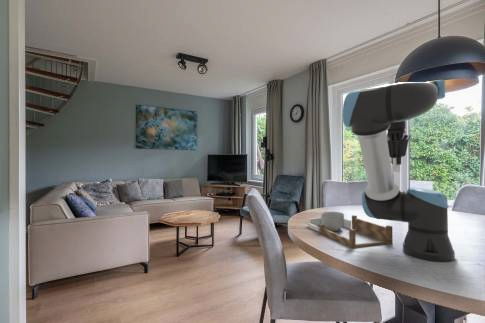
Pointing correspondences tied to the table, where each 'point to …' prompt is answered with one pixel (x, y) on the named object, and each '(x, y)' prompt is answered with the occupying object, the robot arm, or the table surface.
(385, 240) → the wooden frame
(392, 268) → the table surface
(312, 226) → the holder
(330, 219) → the teacup
